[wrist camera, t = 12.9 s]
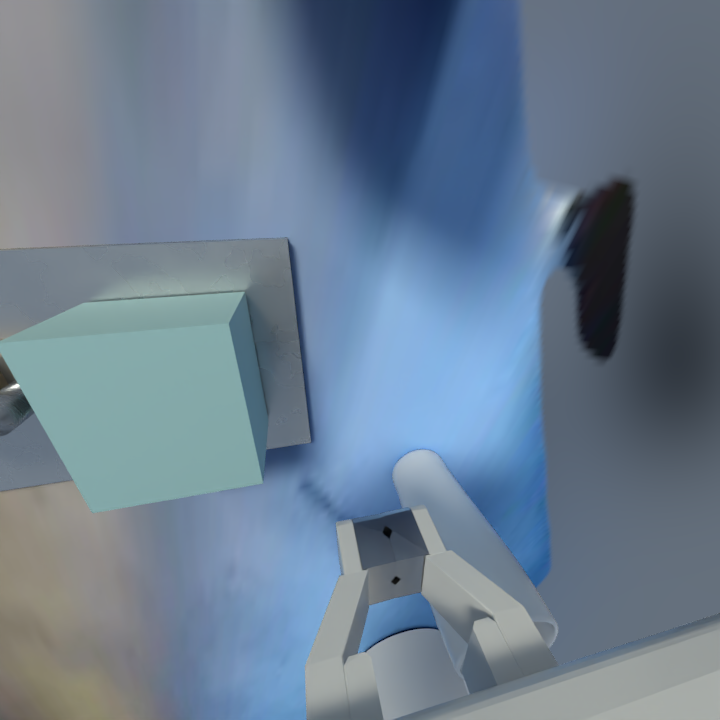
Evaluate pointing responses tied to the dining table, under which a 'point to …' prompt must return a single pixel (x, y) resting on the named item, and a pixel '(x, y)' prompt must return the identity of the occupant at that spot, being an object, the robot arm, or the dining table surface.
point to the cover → (147, 396)
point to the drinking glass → (466, 542)
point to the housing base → (141, 281)
